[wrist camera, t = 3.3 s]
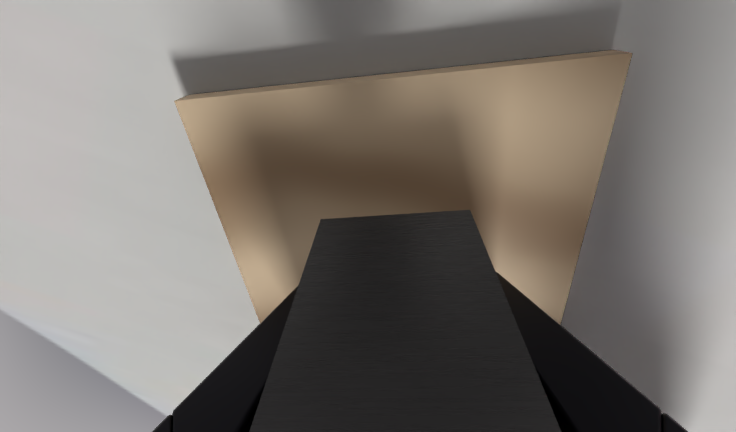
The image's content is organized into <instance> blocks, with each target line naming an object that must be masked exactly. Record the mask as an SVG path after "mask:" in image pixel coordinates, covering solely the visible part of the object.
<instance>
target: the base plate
mask: <svg viewBox="0 0 736 432" xmlns="http://www.w3.org/2000/svg"><path fill="white" fill-rule="evenodd" d="M631 57H632V53H629V52H623V51H617V50H607V51H597V52H588V53H578V54H569V55H560V56H550V57H541V58H531V59H522V60H512V61H503V62H494V63H484V64H475V65H465V66H456V67H446V68H437V69H428V70H418V71H409V72H399V73H390V74H380V75H371V76H362V77H352V78H343V79H333V80H324V81H314V82H305V83H295V84H286V85H277V86H267V87H258V88H248V89H239V90H229V91H220V92H211V93H201V94H192V95H188V96H185V97H183V98H180V99H178V100H175V101H174V102H175V104H176V107H177V109H178V112H179V115H180V117H181V120H182V122H183V125H184V127H185V130H186V133H187V135H188V138H189V140H190V143H191V146H192V148H193V151H194V153H195V156H196V158H197V161H198V164H199V166H200V169H201V171H202V174H203V177H204V179H205V182H206V184H207V187H208V189H209V192H210V195H211V197H212V200H213V202H214V205H215V208H216V210H217V213H218V215H219V218H220V221H221V223H222V226H223V228H224V231H225V233H226V236H227V239H228V241H229V244H230V246H231V249H232V252H233V254H234V257H235V259H236V262H237V264H238V267H239V270H240V272H241V275H242V277H243V280H244V283H245V285H246V288H247V290H248V293H249V295H250V298H251V301H252V303H253V306H254V308H255V311H256V314H257V316H258V319H259V321H260V323H261V322H262V321H263V320H264V319H265V318H266V317H267V316H268V315H269V314H270V313H271V312H272V311H273V310H274V309H275V308H276V307H277V306H278V305H279V304H280V303H281V302H282V301H283V300H284V299H285V298H286V297H287V296H288V295H289V294H290V293H291V292H292V291H293V290H294V289H295V288H296V287H297V286H298V285H299V282H300V279H301V276H302V273H303V270H304V267H305V264H306V261H307V258H308V255H309V253H310V250H311V247H312V244H313V241H314V238H315V235H316V232H317V229H318V226H319V223H320V220H321V219H331V218H347V217H362V216H378V215H394V214H410V213H426V212H441V211H457V210H470V211H471V213H472V216H473V218H474V221H475V223H476V225H477V228H478V230H479V233H480V235H481V238H482V240H483V242H484V245H485V247H486V250H487V252H488V255H489V257H490V259H491V262H492V264H493V267H494V269H495V272H497V273H499V274H500V275H501V276H502V277H504V278H505V279H506V280H507V281H508V282H510V283H511V284H512V285H513V286H514V287H516V288H517V289H518V290H519V291H520V292H522V293H523V294H524V295H525V296H526V297H527V298H529V299H530V300H531V301H532V302H533V303H535V304H536V305H537V306H538V307H539V308H541V309H542V310H543V311H544V312H545V313H547V314H548V315H549V316H550V317H551V318H553V319H554V320H555V321H556V322H557V323H559V324H561V321H562V317H563V313H564V309H565V306H566V302H567V298H568V294H569V291H570V287H571V283H572V279H573V275H574V272H575V268H576V264H577V260H578V257H579V253H580V249H581V245H582V242H583V238H584V234H585V230H586V227H587V223H588V219H589V215H590V211H591V208H592V204H593V200H594V196H595V193H596V189H597V185H598V181H599V178H600V174H601V170H602V166H603V163H604V159H605V155H606V151H607V147H608V144H609V140H610V136H611V132H612V129H613V125H614V121H615V117H616V114H617V110H618V106H619V102H620V99H621V95H622V91H623V87H624V83H625V80H626V76H627V72H628V68H629V65H630V61H631Z"/></svg>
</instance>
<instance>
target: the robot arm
mask: <svg viewBox="0 0 736 432" xmlns="http://www.w3.org/2000/svg"><path fill="white" fill-rule="evenodd" d="M496 274H497V276H498V279H499V281H500V284H501V286H502V289H503V291H504V294H505V296H506V298H507V301H508V303H509V306H510V308H511V311H512V313H513V315H514V318H515V320H516V323H517V325H518V328H519V330H520V332H521V335H522V337H523V340H524V342H525V345H526V347H527V349H528V352H529V354H530V357H531V359H532V362H533V364H534V366H535V369H536V371H537V374H538V376H539V379H540V381H541V383H542V386H543V388H544V391H545V393H546V396H547V398H548V401H549V403H550V405H551V408H552V410H553V413H554V415H555V418H556V420H557V422H558V425H559V427H560V430H561V432H688V431H687V430H685V429H684V428H683V427H682V426H681V425H679V424H678V423H677V422H676V421H675V420H673V419H672V418H671V417H670V416H669V415H667V414H665V413H663V414H661V410H660V408H659V407H658V406H656V405H655V404H654V403H653V402H652V401H650V400H649V399H648V398H647V397H646V396H645V395H643V394H642V393H641V392H640V391H639V390H637V389H636V388H635V387H634V386H633V385H631V384H630V383H629V382H628V381H627V380H625V379H624V378H623V377H622V376H621V375H619V374H618V373H617V372H616V371H615V370H613V369H612V368H611V367H610V366H609V365H607V364H606V363H605V362H604V361H603V360H602V359H600V358H599V357H598V356H597V355H596V354H594V353H593V352H592V351H591V350H590V349H588V348H587V347H586V346H585V345H584V344H582V343H581V342H580V341H579V340H578V339H576V338H575V337H574V336H573V335H572V334H570V333H569V332H568V331H567V330H566V329H565V328H563V327H562V326H561V325H560V324H559V323H557V322H556V321H555V320H554V319H553V318H551V317H550V316H549V315H548V314H547V313H545V312H544V311H543V310H542V309H541V308H539V307H538V306H537V305H536V304H535V303H533V302H532V301H531V300H530V299H529V298H527V297H526V296H525V295H524V294H523V293H522V292H520V291H519V290H518V289H517V288H516V287H514V286H513V285H512V284H511V283H510V282H508V281H507V280H506V279H505V278H504V277H502V276H501V275H500V274H499V273H497V272H496ZM297 288H298V286H297V287H296V288H295V289H294V290H293V291H292V292H291V293H290V294H289V295H288V296H287V297H286V298H285V299H284V300H283V301H282V302H281V303H280V304H279V305H278V306H277V307H276V308H275V309H274V310H273V311H272V312H271V313H270V314H269V315H268V316H267V317H266V318H265V319H264V320H263V321H262V322H261V323H260V324H259V325H258V326H257V327H256V328H255V329H254V330H253V331H252V332H251V333H250V334H249V335H248V336H247V337H246V338H245V339H244V340H243V341H242V342H241V343H240V344H239V345H238V346H237V347H236V348H235V349H234V350H233V351H232V352H231V353H230V354H229V355H228V356H227V357H226V358H225V359H224V360H223V361H222V362H221V363H220V364H219V365H218V366H217V367H216V368H215V369H214V370H213V371H212V372H211V373H210V374H209V375H208V376H207V377H206V378H205V379H204V380H203V381H202V382H201V383H200V384H199V385H198V386H197V387H196V388H195V389H194V390H193V391H192V392H191V393H190V394H189V395H188V396H187V398H186V399H185V400H184V401H183V402H182V403H181V404H180V405H179V406H178V407H177V408H176V409H175V410H174V411H173V415H169V416H167V417H166V418H165V419H164V420H163V421H162V422H161V423H160V424H159V425H158V426H157V427H156V428H155V430H153V432H249V431H250V428H251V425H252V422H253V419H254V416H255V413H256V410H257V407H258V404H259V401H260V398H261V395H262V393H263V390H264V387H265V384H266V381H267V378H268V375H269V372H270V369H271V366H272V363H273V360H274V357H275V354H276V351H277V348H278V345H279V342H280V339H281V336H282V333H283V330H284V327H285V324H286V321H287V318H288V315H289V312H290V309H291V306H292V303H293V300H294V297H295V294H296V291H297Z"/></svg>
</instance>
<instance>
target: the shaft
mask: <svg viewBox="0 0 736 432" xmlns="http://www.w3.org/2000/svg"><path fill="white" fill-rule="evenodd" d="M249 432H561V430H560V427H559V425H558V422H557V420H556V418H555V415H554V413H553V410H552V408H551V405H550V403H549V401H548V398H547V396H546V393H545V391H544V388H543V386H542V383H541V381H540V379H539V376H538V374H537V371H536V369H535V366H534V364H533V362H532V359H531V357H530V354H529V352H528V349H527V347H526V345H525V342H524V340H523V337H522V335H521V332H520V330H519V328H518V325H517V323H516V320H515V318H514V315H513V313H512V311H511V308H510V306H509V303H508V301H507V298H506V296H505V294H504V291H503V289H502V286H501V284H500V281H499V279H498V276H497V274H496V272H495V269H494V267H493V264H492V262H491V259H490V257H489V255H488V252H487V250H486V247H485V245H484V242H483V240H482V238H481V235H480V233H479V230H478V228H477V225H476V223H475V221H474V218H473V216H472V213H471V211H470V210H457V211H441V212H426V213H410V214H394V215H378V216H362V217H347V218H331V219H321V220H320V223H319V226H318V229H317V232H316V235H315V238H314V241H313V244H312V247H311V250H310V253H309V255H308V258H307V261H306V264H305V267H304V270H303V273H302V276H301V279H300V282H299V285H298V288H297V291H296V294H295V297H294V300H293V303H292V306H291V309H290V312H289V315H288V318H287V321H286V324H285V327H284V330H283V333H282V336H281V339H280V342H279V345H278V348H277V351H276V354H275V357H274V360H273V363H272V366H271V369H270V372H269V375H268V378H267V381H266V384H265V387H264V390H263V393H262V395H261V398H260V401H259V404H258V407H257V410H256V413H255V416H254V419H253V422H252V425H251V428H250V431H249Z"/></svg>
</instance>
